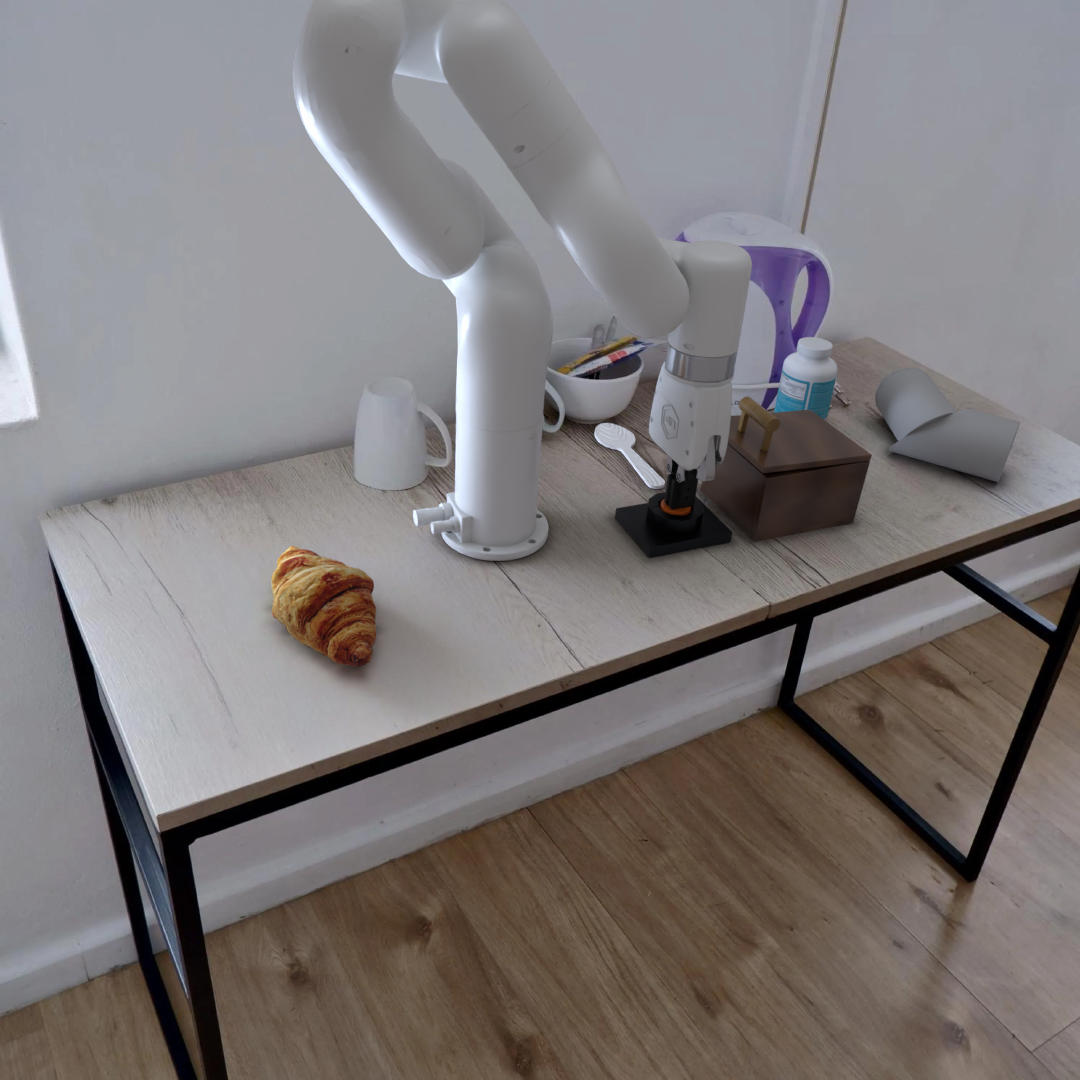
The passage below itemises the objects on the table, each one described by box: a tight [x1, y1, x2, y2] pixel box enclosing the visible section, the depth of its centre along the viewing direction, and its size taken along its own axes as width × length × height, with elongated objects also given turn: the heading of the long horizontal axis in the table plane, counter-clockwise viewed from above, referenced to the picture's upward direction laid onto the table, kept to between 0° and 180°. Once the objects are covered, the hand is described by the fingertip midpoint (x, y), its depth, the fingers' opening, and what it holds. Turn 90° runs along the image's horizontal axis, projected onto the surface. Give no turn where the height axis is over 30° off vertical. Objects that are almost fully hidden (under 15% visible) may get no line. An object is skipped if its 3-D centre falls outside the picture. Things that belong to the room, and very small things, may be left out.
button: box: [660, 499, 691, 516], centre depth 120 cm, size 4×4×2 cm
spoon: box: [594, 422, 666, 490], centre depth 136 cm, size 5×18×1 cm, turn 21°
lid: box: [728, 396, 873, 473], centre depth 121 cm, size 15×13×5 cm
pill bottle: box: [773, 336, 839, 421], centre depth 142 cm, size 8×7×14 cm
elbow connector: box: [874, 366, 1021, 483], centre depth 141 cm, size 18×10×20 cm
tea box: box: [700, 443, 871, 543], centre depth 125 cm, size 15×13×9 cm
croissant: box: [270, 545, 377, 668], centre depth 102 cm, size 21×10×8 cm, turn 32°
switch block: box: [614, 491, 733, 559], centre depth 120 cm, size 11×9×4 cm
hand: (679, 504), depth 119 cm, fingers closed
